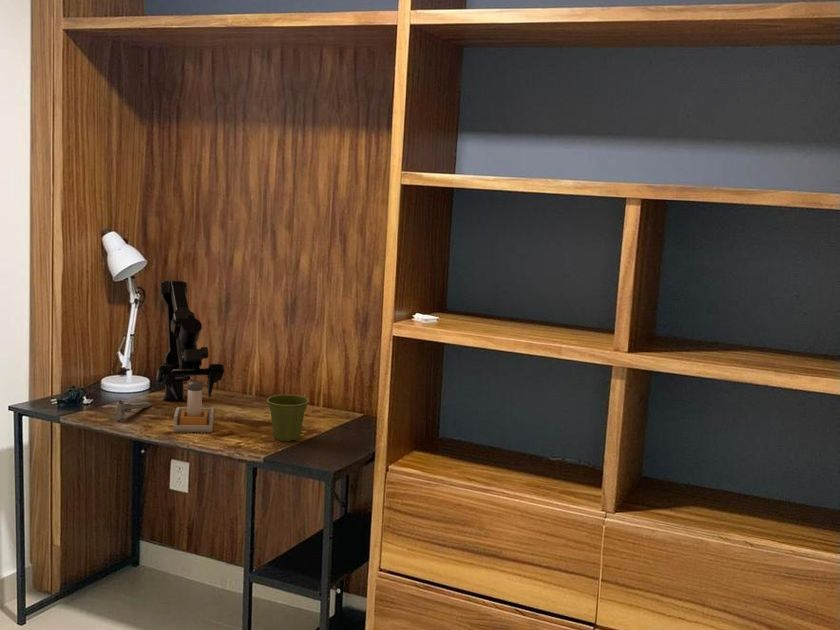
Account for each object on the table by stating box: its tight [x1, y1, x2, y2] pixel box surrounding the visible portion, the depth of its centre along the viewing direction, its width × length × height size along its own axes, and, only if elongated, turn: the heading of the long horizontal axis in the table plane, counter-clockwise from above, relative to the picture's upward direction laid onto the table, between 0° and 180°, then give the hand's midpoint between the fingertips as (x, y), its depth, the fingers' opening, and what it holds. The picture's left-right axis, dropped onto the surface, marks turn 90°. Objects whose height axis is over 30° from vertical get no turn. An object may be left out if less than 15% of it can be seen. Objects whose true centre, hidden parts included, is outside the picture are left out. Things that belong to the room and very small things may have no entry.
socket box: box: [172, 406, 215, 434], centre depth 245 cm, size 11×11×4 cm
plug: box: [186, 380, 203, 417], centre depth 245 cm, size 4×4×12 cm
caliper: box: [115, 399, 153, 422], centre depth 256 cm, size 20×1×6 cm, turn 171°
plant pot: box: [266, 394, 310, 442], centre depth 241 cm, size 12×12×11 cm
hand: (193, 397), depth 245 cm, fingers open, 9 cm apart
